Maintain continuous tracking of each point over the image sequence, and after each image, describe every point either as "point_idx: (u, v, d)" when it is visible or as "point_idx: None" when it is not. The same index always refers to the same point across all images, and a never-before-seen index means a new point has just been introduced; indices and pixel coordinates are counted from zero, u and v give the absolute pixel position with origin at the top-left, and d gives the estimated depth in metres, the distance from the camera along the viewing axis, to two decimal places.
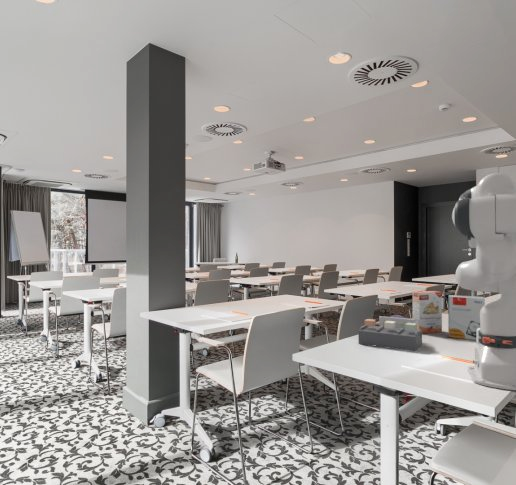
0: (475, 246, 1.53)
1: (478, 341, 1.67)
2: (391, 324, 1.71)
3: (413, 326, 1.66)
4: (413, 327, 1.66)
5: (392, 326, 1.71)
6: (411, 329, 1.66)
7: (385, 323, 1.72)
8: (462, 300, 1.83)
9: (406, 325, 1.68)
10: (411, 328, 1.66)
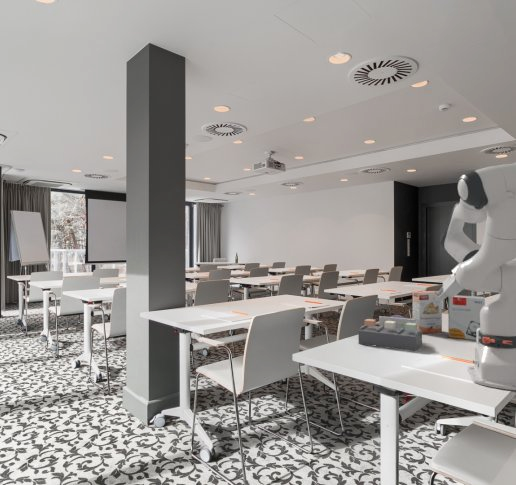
0: (443, 282, 1.69)
1: (478, 341, 1.67)
2: (391, 324, 1.71)
3: (413, 326, 1.66)
4: (413, 327, 1.66)
5: (392, 326, 1.71)
6: (411, 329, 1.66)
7: (385, 323, 1.72)
8: (462, 300, 1.83)
9: (406, 325, 1.68)
10: (411, 328, 1.66)
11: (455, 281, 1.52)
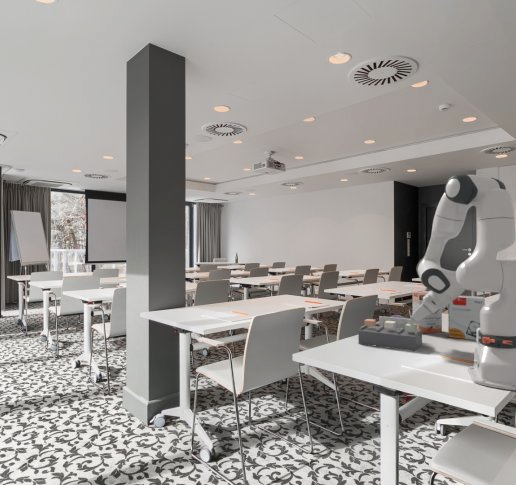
0: None
1: (478, 341, 1.67)
2: (391, 324, 1.71)
3: (413, 327, 1.66)
4: (413, 328, 1.66)
5: (392, 326, 1.71)
6: (411, 330, 1.66)
7: (385, 323, 1.72)
8: (462, 300, 1.83)
9: (406, 326, 1.68)
10: (411, 329, 1.66)
11: (422, 306, 1.58)
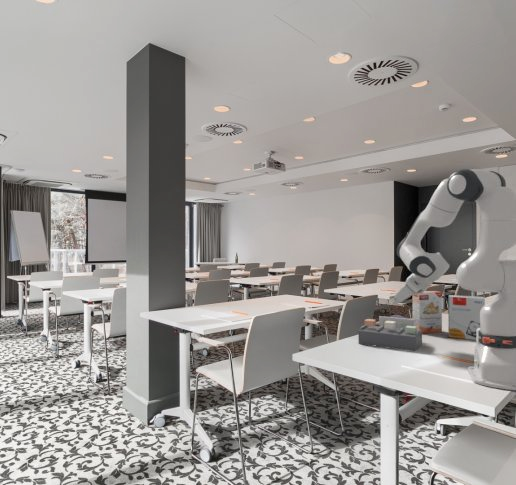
0: None
1: (478, 341, 1.67)
2: (391, 324, 1.71)
3: (413, 329, 1.66)
4: (413, 330, 1.66)
5: (392, 326, 1.71)
6: (411, 332, 1.66)
7: (385, 323, 1.72)
8: (462, 300, 1.83)
9: (406, 328, 1.68)
10: (411, 331, 1.66)
11: (404, 286, 1.62)
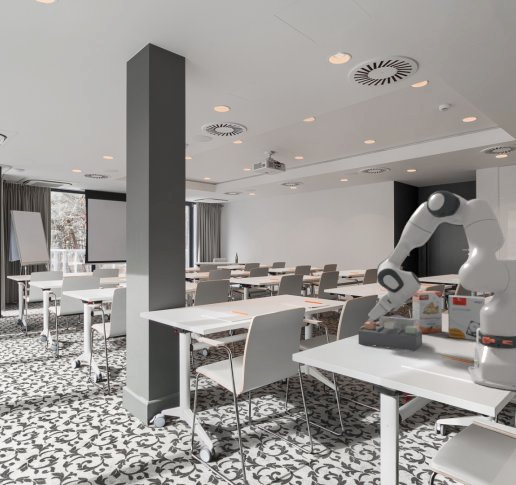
0: None
1: (478, 341, 1.67)
2: (391, 324, 1.71)
3: (413, 329, 1.66)
4: (413, 330, 1.66)
5: (392, 326, 1.71)
6: (411, 332, 1.66)
7: (385, 323, 1.72)
8: (462, 300, 1.83)
9: (406, 328, 1.68)
10: (411, 331, 1.66)
11: (378, 305, 1.68)
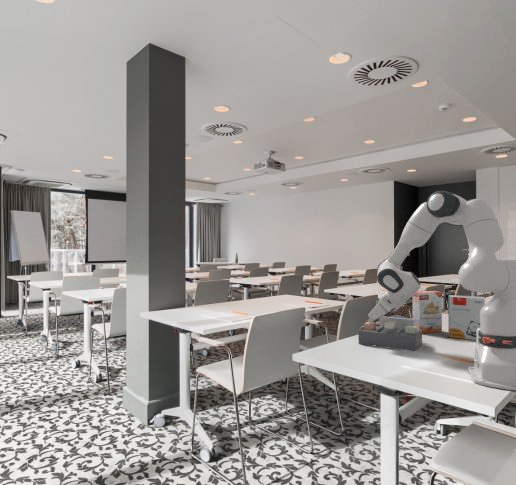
0: None
1: (478, 341, 1.67)
2: (391, 324, 1.71)
3: (413, 329, 1.66)
4: (413, 330, 1.66)
5: (392, 326, 1.71)
6: (411, 332, 1.66)
7: (385, 323, 1.72)
8: (462, 300, 1.83)
9: (406, 328, 1.68)
10: (411, 331, 1.66)
11: (378, 305, 1.68)
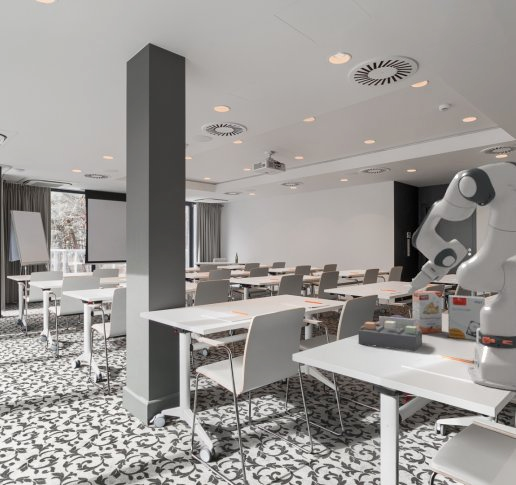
0: None
1: (478, 341, 1.67)
2: (391, 324, 1.71)
3: (413, 329, 1.66)
4: (413, 330, 1.66)
5: (392, 326, 1.71)
6: (411, 332, 1.66)
7: (385, 323, 1.72)
8: (462, 300, 1.83)
9: (406, 328, 1.68)
10: (411, 331, 1.66)
11: (421, 273, 1.58)
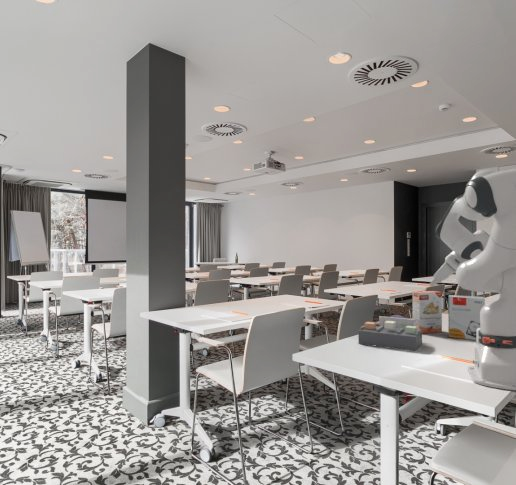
0: None
1: (478, 341, 1.67)
2: (391, 324, 1.71)
3: (413, 329, 1.66)
4: (413, 330, 1.66)
5: (392, 326, 1.71)
6: (411, 332, 1.66)
7: (385, 323, 1.72)
8: (462, 300, 1.83)
9: (406, 328, 1.68)
10: (411, 331, 1.66)
11: (445, 265, 1.53)
